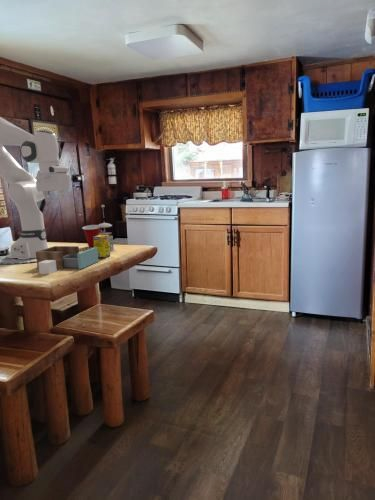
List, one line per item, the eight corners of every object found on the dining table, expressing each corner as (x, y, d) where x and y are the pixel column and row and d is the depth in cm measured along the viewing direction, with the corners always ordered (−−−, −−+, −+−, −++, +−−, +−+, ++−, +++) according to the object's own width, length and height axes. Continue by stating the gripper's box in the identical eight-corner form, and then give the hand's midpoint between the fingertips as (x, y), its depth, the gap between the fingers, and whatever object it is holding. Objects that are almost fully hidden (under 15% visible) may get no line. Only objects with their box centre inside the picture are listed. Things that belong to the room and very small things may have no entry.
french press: (117, 248, 215) (113, 203, 210) (112, 253, 203) (109, 205, 199) (99, 249, 215) (95, 204, 210) (94, 253, 204) (90, 206, 199)
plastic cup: (81, 248, 221) (79, 227, 218) (87, 245, 231) (85, 225, 229) (100, 247, 220) (98, 227, 218) (105, 244, 231) (103, 224, 228)
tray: (55, 268, 172) (54, 253, 171) (74, 260, 186) (72, 247, 185) (81, 268, 168) (79, 253, 167) (98, 261, 183) (97, 247, 181)
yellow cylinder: (106, 258, 190) (104, 236, 188) (94, 258, 191) (92, 236, 189) (110, 256, 196) (109, 234, 194) (99, 256, 197) (97, 234, 195)
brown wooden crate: (37, 268, 175) (35, 251, 174) (56, 261, 189) (54, 246, 187) (62, 268, 171) (60, 252, 170) (79, 261, 185) (78, 246, 184)
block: (39, 274, 164) (38, 262, 163) (46, 271, 169) (45, 260, 168) (49, 274, 163) (48, 262, 162) (56, 271, 167) (55, 260, 166)
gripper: (30, 170, 170) (34, 202, 173) (57, 167, 158) (61, 201, 160) (43, 170, 175) (47, 201, 178) (70, 167, 163) (74, 200, 165)
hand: (54, 201), depth 169 cm, fingers open, 8 cm apart
